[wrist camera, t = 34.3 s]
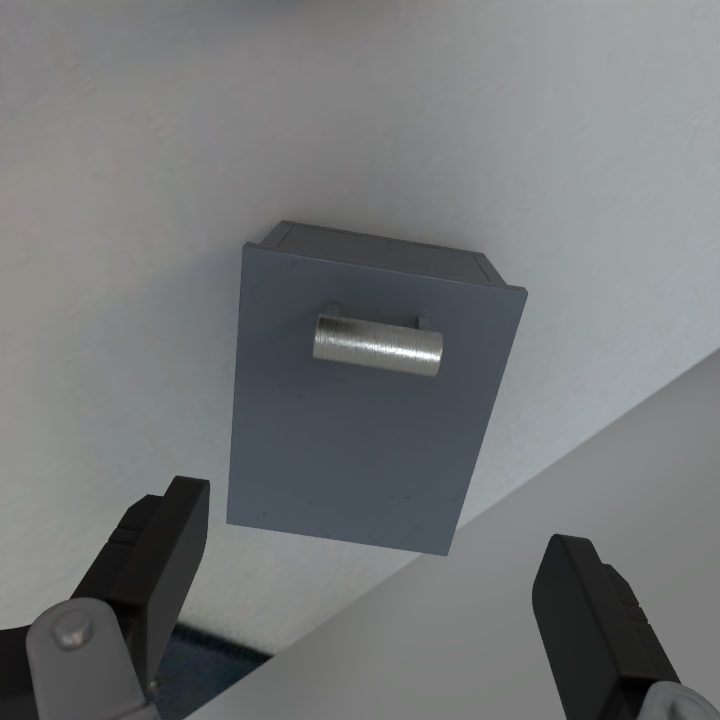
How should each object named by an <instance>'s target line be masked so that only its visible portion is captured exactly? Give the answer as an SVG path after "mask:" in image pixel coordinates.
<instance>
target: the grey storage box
mask: <svg viewBox="0 0 720 720" xmlns="http://www.w3.org/2000/svg"><path fill="white" fill-rule="evenodd" d="M260 244H262V245H268V246H274V247H280V248H286V249H292V250H298V251H304V252H310V253H316V254H323V255H329V256H335V257H341V258H347V259H353V260H359V261H365V262H371V263H378V264H384V265H390V266H396V267H402V268H408V269H414V270H420V271H426V272H432V273H439V274H445V275H451V276H457V277H463V278H469V279H475V280H481V281H487V282H493V283H500V284H506V283H505V281H504V280H503V279H502V277H501V276H500V275H499V273H498V272H497V271H496V269H495V268H494V267H493V265H492V264H491V263H490V261H489V260H488V259H487V257H486V256H485V255H484V254H483V253H477V252H471V251H465V250H459V249H453V248H446V247H440V246H434V245H428V244H422V243H416V242H410V241H404V240H398V239H392V238H386V237H380V236H374V235H368V234H362V233H356V232H350V231H344V230H338V229H331V228H325V227H319V226H313V225H307V224H301V223H295V222H289V221H281V222H280V223H279V224H278V225H277V226H276V227H275V228H274V229H273V230H272V231H271V232H270V233H269V235H268V236H267V237H266V238H265V239H264V240H263V241H262V242H261V243H260ZM506 285H507V284H506Z"/></svg>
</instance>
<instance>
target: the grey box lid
mask: <svg viewBox="0 0 720 720" xmlns="http://www.w3.org/2000/svg"><path fill="white" fill-rule="evenodd" d="M527 296H528V292H527V290H526V289H525V288H524V287H518V286H512V285H506V284H500V283H493V282H487V281H481V280H475V279H469V278H463V277H457V276H451V275H445V274H439V273H432V272H426V271H420V270H414V269H408V268H402V267H396V266H390V265H384V264H378V263H371V262H365V261H359V260H353V259H347V258H341V257H335V256H329V255H323V254H316V253H310V252H304V251H298V250H292V249H286V248H280V247H274V246H268V245H262V244H255V243H249V242H247V243H246V244H245V245H244V246H243V255H242V271H241V288H240V304H239V321H238V338H237V354H236V371H235V387H234V404H233V421H232V437H231V454H230V470H229V487H228V504H227V520H226V523H227V524H233V525H240V526H246V527H253V528H260V529H266V530H273V531H280V532H286V533H293V534H300V535H307V536H313V537H320V538H327V539H333V540H340V541H347V542H354V543H360V544H367V545H374V546H380V547H387V548H394V549H400V550H407V551H414V552H421V553H427V554H434V555H441V556H447V555H448V552H449V548H450V545H451V542H452V539H453V535H454V532H455V529H456V526H457V522H458V519H459V516H460V513H461V510H462V506H463V503H464V500H465V497H466V493H467V490H468V487H469V484H470V480H471V477H472V474H473V471H474V467H475V464H476V461H477V458H478V454H479V451H480V448H481V445H482V441H483V438H484V435H485V432H486V428H487V425H488V422H489V419H490V416H491V412H492V409H493V406H494V403H495V399H496V396H497V393H498V390H499V386H500V383H501V380H502V377H503V373H504V370H505V367H506V364H507V360H508V357H509V354H510V351H511V347H512V344H513V341H514V338H515V334H516V331H517V328H518V325H519V322H520V318H521V315H522V312H523V309H524V305H525V302H526V299H527Z"/></svg>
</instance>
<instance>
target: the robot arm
mask: <svg viewBox="0 0 720 720" xmlns="http://www.w3.org/2000/svg"><path fill="white" fill-rule="evenodd" d="M209 496H210V482H209V480H204V479H197V478H191V477H184V476H175V477H174V479H173V481H172V482H171V484H170V486H169V487H168V489H167V491H166V493H165V494H164V496H163V497H162V496H155V495H149V494H147V495H146V496H145V497H143V498H142V499H140V500H139V501H138V502H136V503H135V504H133V505H132V506H131V507H129V508H128V510H127V511H126V513H125V514H124V516H123V517H122V519H121V521H120V522H119V524H118V526H117V529H116V528H115V530H114V531H113V533H112V534H111V536H110V538H109V539H108V543H106V544H105V545H104V547H103V548H102V550H101V551H100V553H99V554H98V556H97V558H96V559H95V561H94V562H93V564H92V565H91V567H90V568H89V570H88V571H87V573H86V574H85V576H84V578H83V579H82V581H81V582H80V584H79V585H78V587H77V588H76V590H75V591H74V593H73V594H72V596H71V597H70V599H69V600H66V601H63V602H60V603H58V604H56V605H54V606H52V607H50V608H49V609H47V610H46V611H44V612H43V613H42V614H41V615H40V616H38V617H37V619H36V620H35V621H34V622H33V623H32V624H30V625H27V626H23V627H19V628H13V629H6V630H0V720H161V717H160V715H159V712H158V710H157V708H156V706H155V705H154V703H153V702H149V703H147V702H146V700H145V698H144V695H143V693H145V694H147V691H148V689H149V687H150V684H151V682H152V679H153V677H154V674H155V672H156V669H157V667H158V665H159V662H160V660H161V657H162V655H163V652H164V650H165V647H166V645H167V643H168V640H169V638H170V635H171V633H172V630H173V628H174V625H175V623H176V621H177V618H178V616H179V613H180V611H181V608H182V606H183V603H184V601H185V599H186V596H187V594H188V591H189V589H190V586H191V584H192V581H193V579H194V577H195V574H196V572H197V569H198V567H199V564H200V562H201V559H202V556H203V553H204V549H205V544H206V539H207V530H208V513H209ZM532 605H533V611H534V614H535V617H536V620H537V624H538V627H539V630H540V634H541V637H542V640H543V644H544V647H545V650H546V653H547V657H548V659H549V663H550V666H551V670H552V673H553V676H554V679H555V683H556V686H557V689H558V692H559V696H560V699H561V702H562V705H563V709H564V712H565V715H566V719H567V720H720V713H719V712H718V711H717V710H716V708H715V707H714V706H713V705H712V704H711V703H710V702H709V701H707V700H706V699H705V698H704V697H702V696H701V695H700V694H698V693H697V692H695V691H694V690H692V689H690V688H688V687H686V686H684V685H682V684H681V682H680V680H679V678H678V676H677V674H676V672H675V670H674V669H673V667H672V665H671V663H670V661H669V659H668V657H667V655H666V654H665V652H664V650H663V648H662V646H661V644H660V642H659V640H658V639H657V636H656V635H655V633H654V631H653V629H652V627H651V625H650V624H648V622H647V621H648V619H647V618H646V616H645V614H644V612H643V610H642V608H641V607H639V603H638V601H637V599H636V597H635V595H634V593H633V591H632V589H631V587H630V586H629V584H628V582H627V581H626V580H625V579H624V578H623V577H622V576H621V575H620V574H619V573H618V572H617V571H616V570H615V569H614V568H613V567H612V566H611V565H608V564H602V562H601V560H600V559H599V556H598V554H597V552H596V550H595V548H594V546H593V544H592V542H591V541H590V540H589V539H587V538H581V537H574V536H568V535H561V534H554V535H553V536H552V537H551V539H550V541H549V543H548V546H547V549H546V551H545V554H544V557H543V560H542V562H541V565H540V568H539V570H538V573H537V576H536V578H535V581H534V584H533V590H532Z"/></svg>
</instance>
